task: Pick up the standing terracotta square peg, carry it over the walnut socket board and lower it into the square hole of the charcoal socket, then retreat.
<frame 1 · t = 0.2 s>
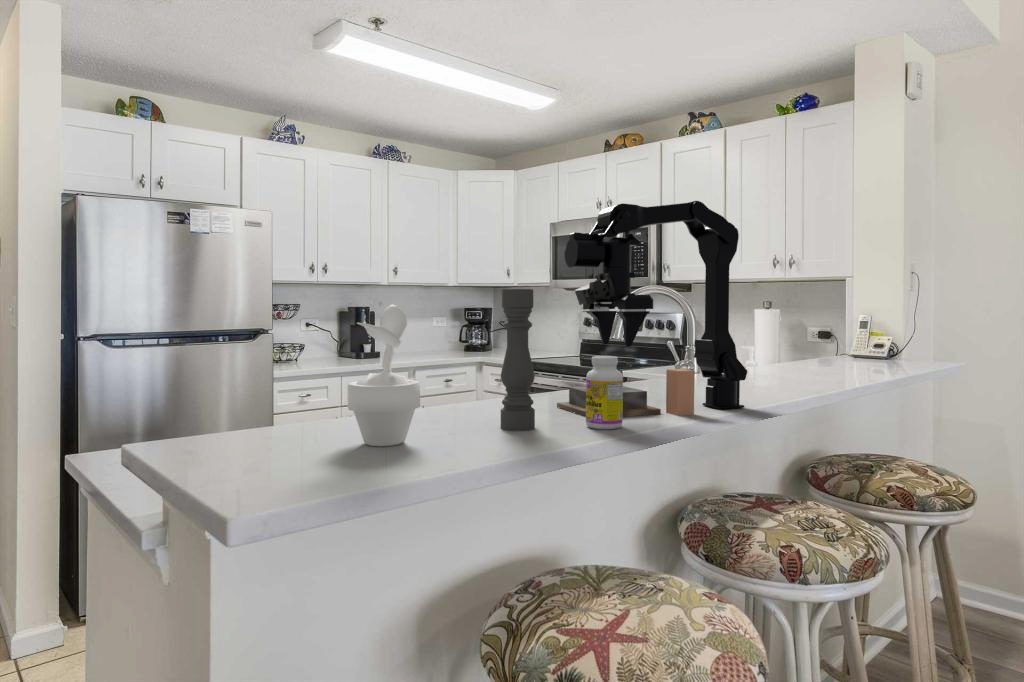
hand: (616, 345, 133), 14 cm above the countertop, fingers open, 9 cm apart
potted plant: (382, 444, 105), on the countertop
socket: (607, 410, 139), on the countertop
supplement bottle: (604, 428, 120), on the countertop
peg: (679, 413, 135), on the countertop
candle holder: (517, 428, 119), on the countertop
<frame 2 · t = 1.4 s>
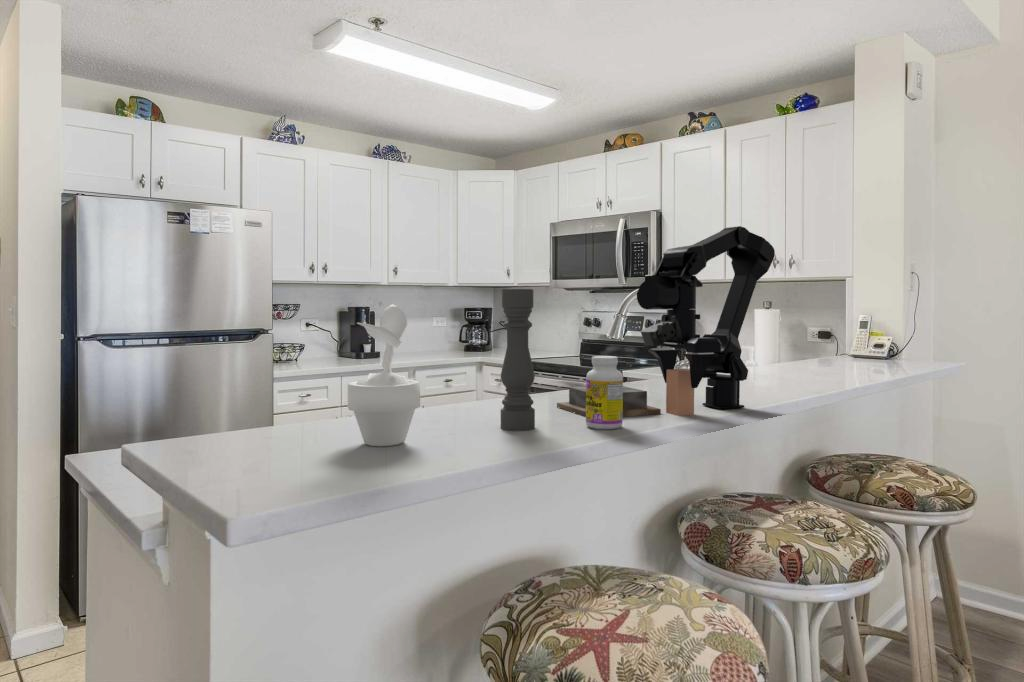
hand: (680, 385, 135), 6 cm above the countertop, fingers open, 9 cm apart
nothing on the countertop moved.
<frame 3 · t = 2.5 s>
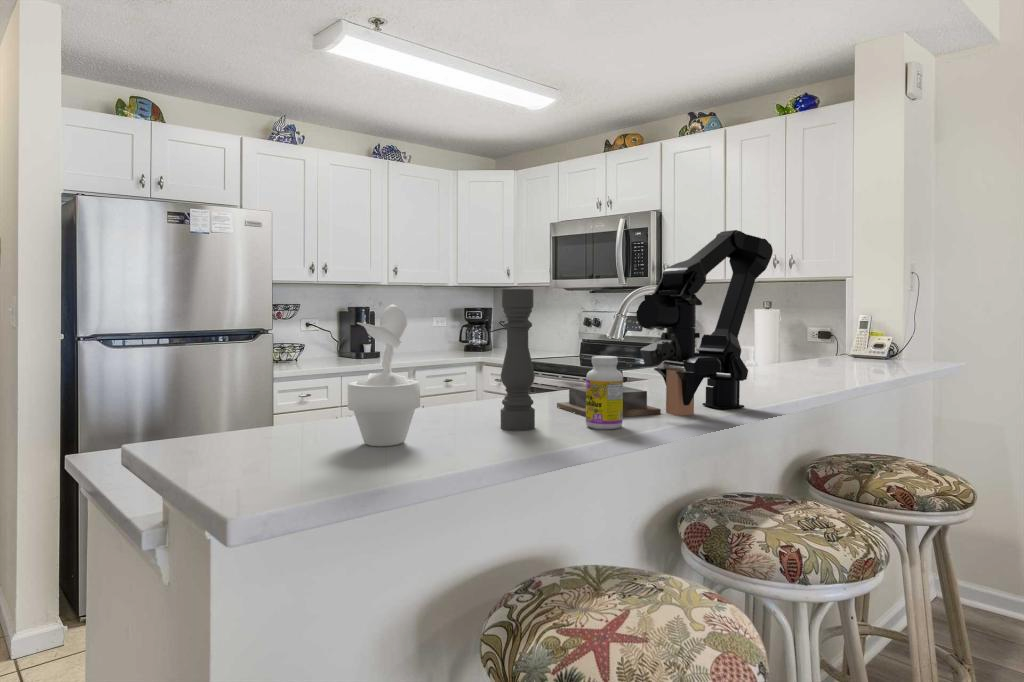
hand: (680, 403, 135), 2 cm above the countertop, fingers closed on peg, 4 cm apart
peg: (679, 413, 135), on the countertop, touching gripper
everything else where it was.
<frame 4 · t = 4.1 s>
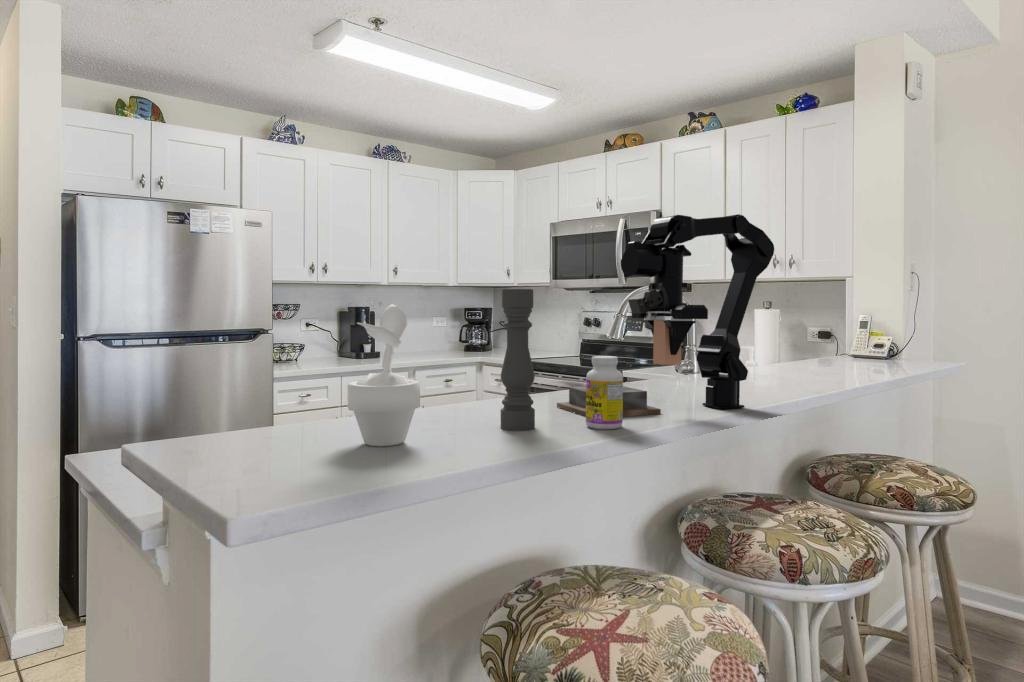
hand: (667, 354, 135), 12 cm above the countertop, fingers closed on peg, 4 cm apart
peg: (667, 364, 135), point 10 cm above the countertop, touching gripper
everything else where it was.
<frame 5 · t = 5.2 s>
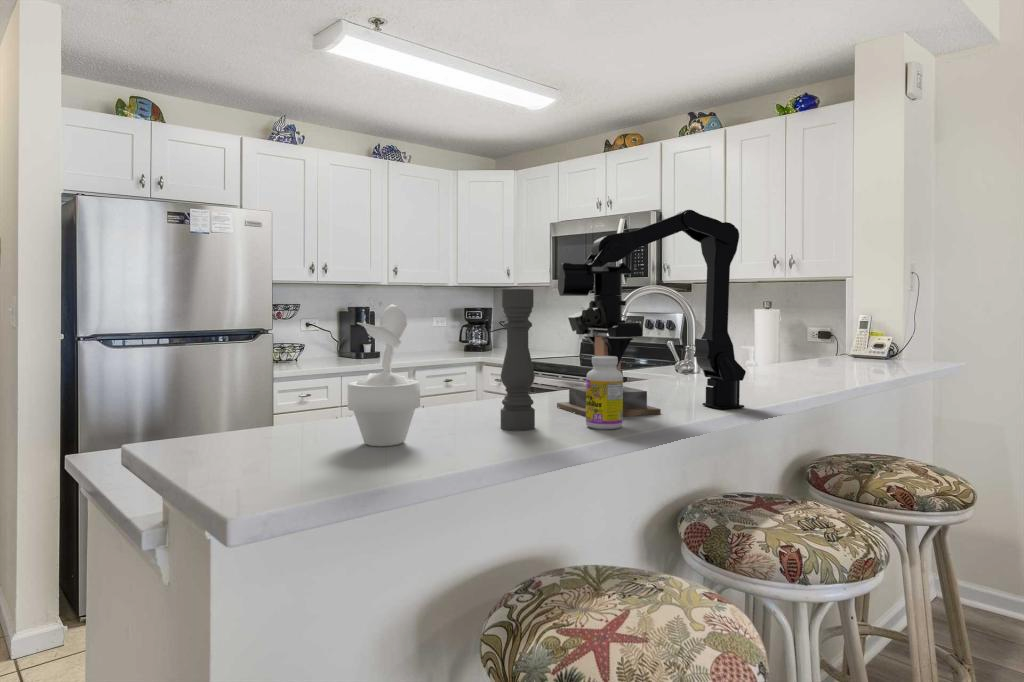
hand: (607, 369, 139), 9 cm above the countertop, fingers closed on peg, 4 cm apart
peg: (607, 379, 139), point 7 cm above the countertop, touching gripper
everything else where it was.
when the fingers open (6 cm above the countertop, at t = 6.1 s): peg drops 2 cm, resting on socket.
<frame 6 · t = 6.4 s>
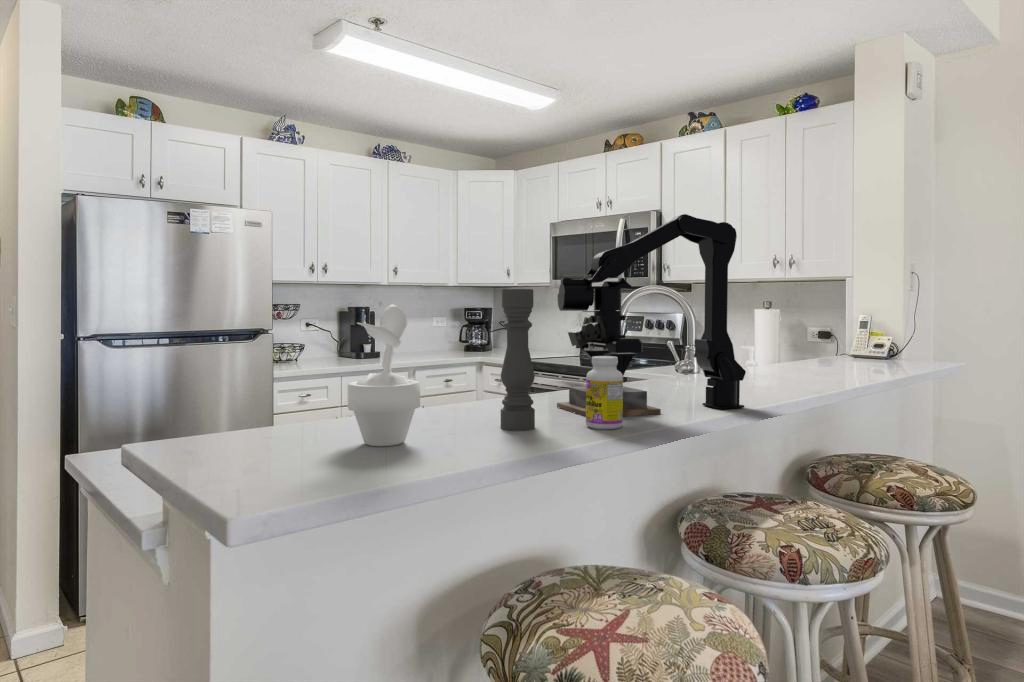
hand: (607, 384, 139), 5 cm above the countertop, fingers open, 7 cm apart
peg: (607, 405, 139), point 1 cm above the countertop, touching socket
everything else where it was.
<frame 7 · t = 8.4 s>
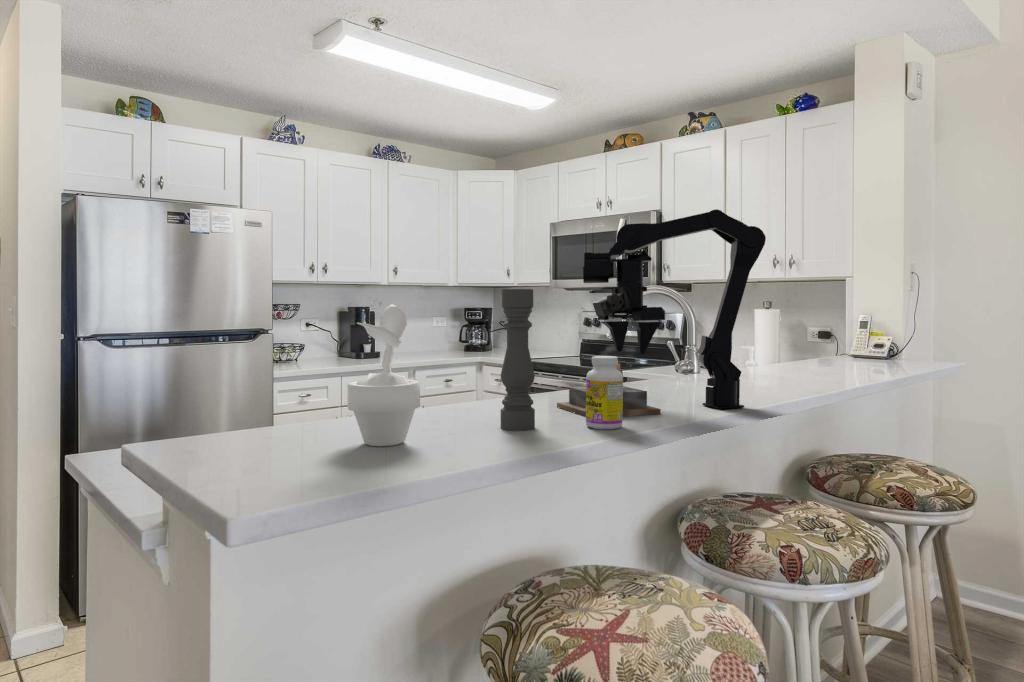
hand: (630, 352, 146), 12 cm above the countertop, fingers open, 9 cm apart
nothing on the countertop moved.
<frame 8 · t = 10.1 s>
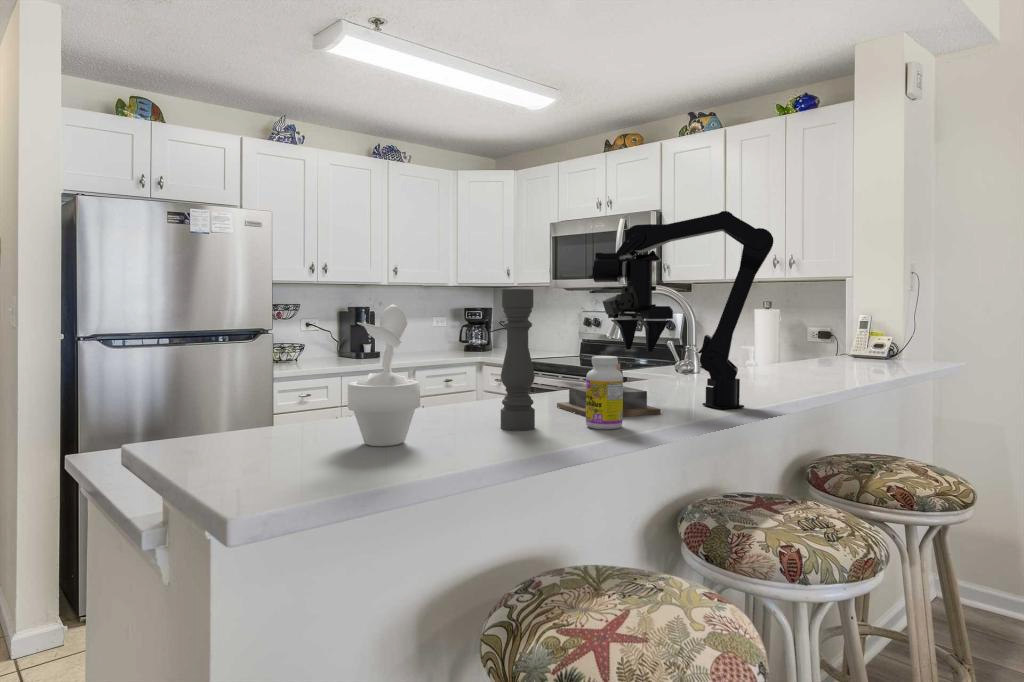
hand: (638, 350, 149), 12 cm above the countertop, fingers open, 9 cm apart
nothing on the countertop moved.
at the end: peg 0.0 cm off-centre on the socket, point 1.0 cm above the socket's base; peg tilted 0°; the gripper is holding nothing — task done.
